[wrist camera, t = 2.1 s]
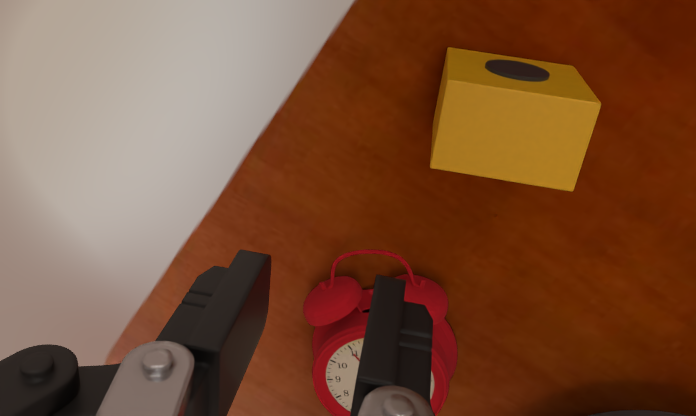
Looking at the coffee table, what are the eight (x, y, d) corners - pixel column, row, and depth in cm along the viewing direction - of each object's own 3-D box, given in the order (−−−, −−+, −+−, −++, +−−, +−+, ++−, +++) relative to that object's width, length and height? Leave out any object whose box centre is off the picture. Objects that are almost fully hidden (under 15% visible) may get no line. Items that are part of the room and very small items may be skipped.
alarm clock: (318, 447, 45) (270, 312, 35) (329, 375, 49) (290, 239, 40) (461, 451, 43) (451, 309, 33) (459, 375, 48) (450, 233, 38)
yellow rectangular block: (433, 122, 36) (429, 168, 30) (448, 43, 34) (448, 75, 28) (558, 142, 36) (581, 193, 29) (582, 63, 33) (612, 100, 27)
